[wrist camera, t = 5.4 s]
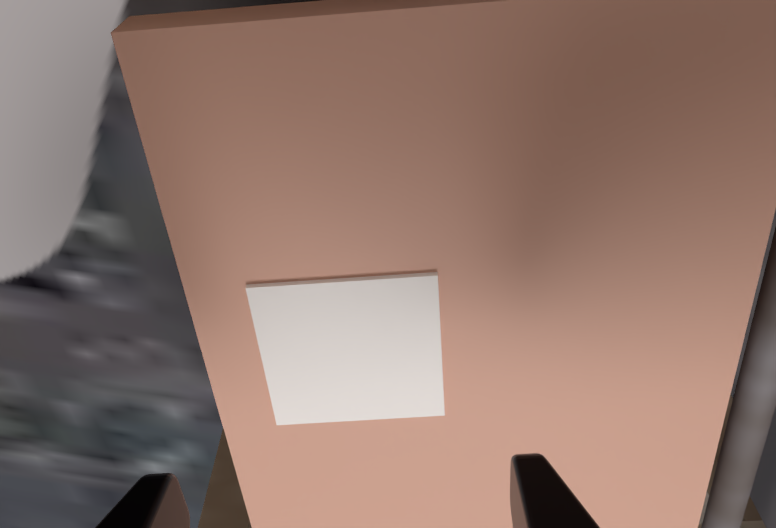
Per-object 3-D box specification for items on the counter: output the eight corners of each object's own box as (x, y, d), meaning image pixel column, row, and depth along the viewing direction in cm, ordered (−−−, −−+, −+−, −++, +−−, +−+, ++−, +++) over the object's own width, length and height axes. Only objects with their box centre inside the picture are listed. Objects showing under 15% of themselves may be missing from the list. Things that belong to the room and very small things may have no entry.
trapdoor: (1119, -76, 10) (1232, -55, 9) (880, 472, 16) (926, 535, 15) (141, 5, 10) (105, 37, 9) (270, 505, 16) (259, 568, 15)
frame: (765, -235, 15) (1156, -260, 8) (670, 326, 24) (810, 591, 16) (134, -176, 16) (-110, -142, 8) (256, 351, 24) (194, 620, 16)
